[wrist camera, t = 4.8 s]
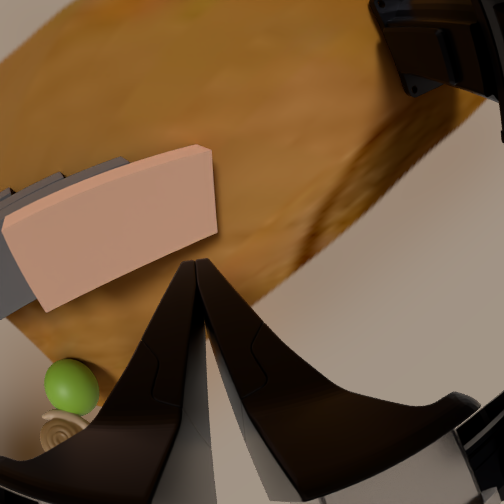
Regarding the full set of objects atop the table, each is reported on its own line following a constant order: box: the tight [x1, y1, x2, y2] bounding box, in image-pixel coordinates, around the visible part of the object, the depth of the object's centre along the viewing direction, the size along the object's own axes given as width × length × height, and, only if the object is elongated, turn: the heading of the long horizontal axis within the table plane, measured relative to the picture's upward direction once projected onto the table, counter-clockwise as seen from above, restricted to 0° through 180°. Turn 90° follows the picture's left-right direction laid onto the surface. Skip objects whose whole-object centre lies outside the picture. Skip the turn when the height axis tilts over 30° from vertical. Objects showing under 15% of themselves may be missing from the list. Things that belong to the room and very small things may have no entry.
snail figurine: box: [40, 359, 99, 452], centre depth 16 cm, size 5×6×12 cm
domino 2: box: [1, 144, 218, 313], centre depth 11 cm, size 1×4×10 cm
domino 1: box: [0, 156, 130, 320], centre depth 10 cm, size 1×4×10 cm
